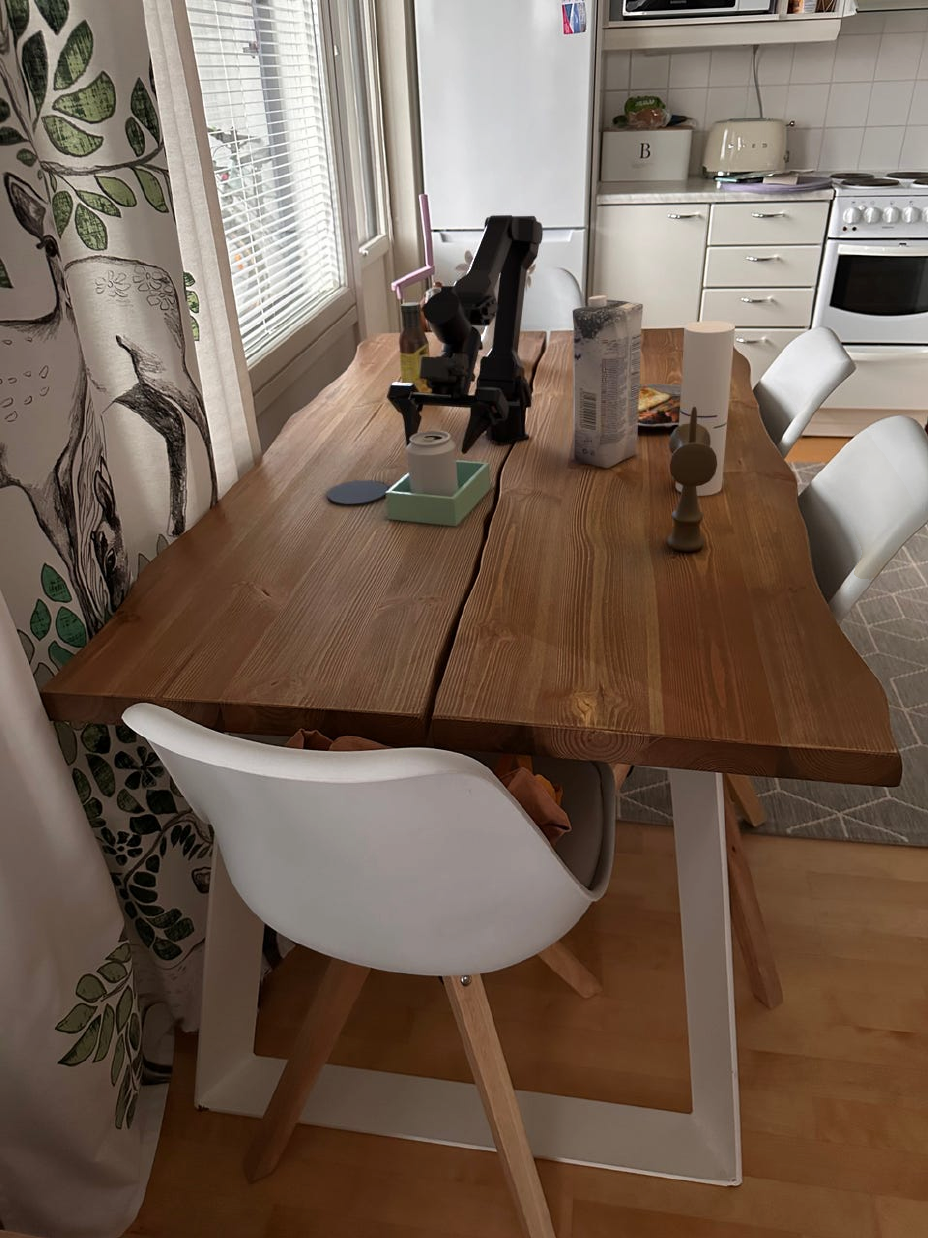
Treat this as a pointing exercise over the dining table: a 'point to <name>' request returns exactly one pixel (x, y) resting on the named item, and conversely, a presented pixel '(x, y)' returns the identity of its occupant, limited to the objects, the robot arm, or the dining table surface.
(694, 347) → the cylindrical container
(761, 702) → the dining table surface
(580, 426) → the juice carton
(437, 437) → the can
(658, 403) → the food plate
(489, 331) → the flower vase
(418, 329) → the sauce bottle
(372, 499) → the coaster
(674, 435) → the kendama
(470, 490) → the green open box
